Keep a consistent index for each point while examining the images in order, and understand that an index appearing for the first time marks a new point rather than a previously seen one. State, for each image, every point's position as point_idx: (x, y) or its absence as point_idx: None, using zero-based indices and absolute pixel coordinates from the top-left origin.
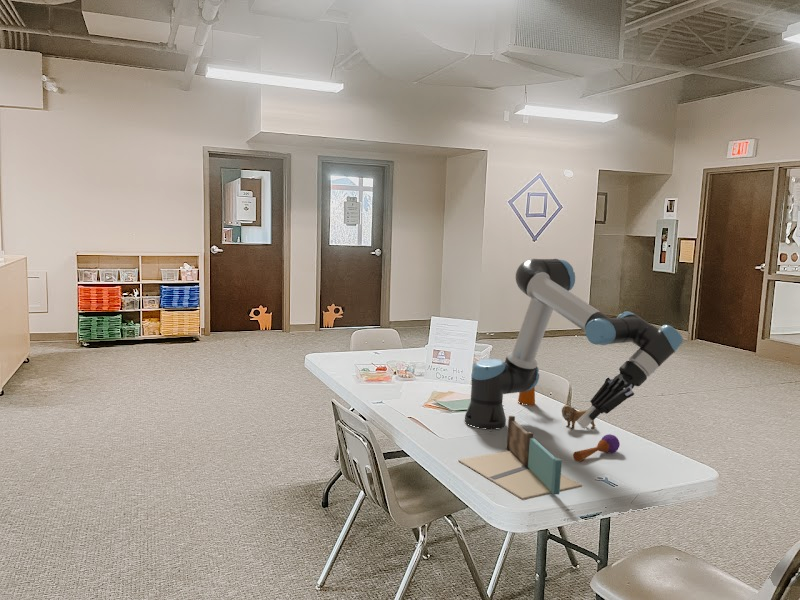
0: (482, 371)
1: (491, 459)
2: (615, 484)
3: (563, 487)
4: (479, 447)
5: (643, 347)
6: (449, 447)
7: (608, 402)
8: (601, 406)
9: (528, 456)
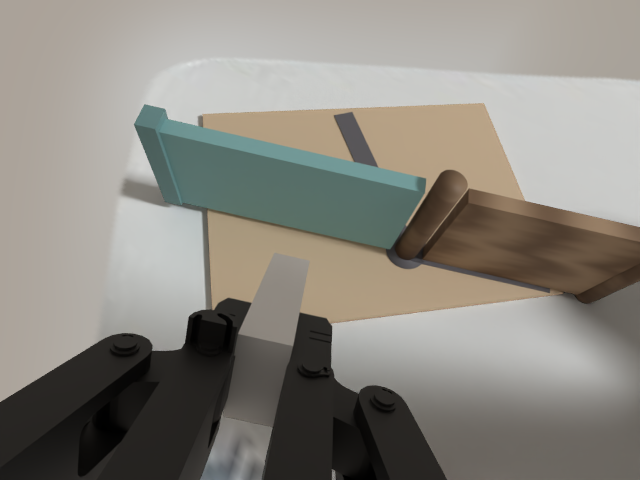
0: None
1: (480, 180)
2: None
3: (217, 258)
4: (593, 207)
5: None
6: (587, 132)
7: (30, 394)
8: (128, 338)
9: (408, 224)
